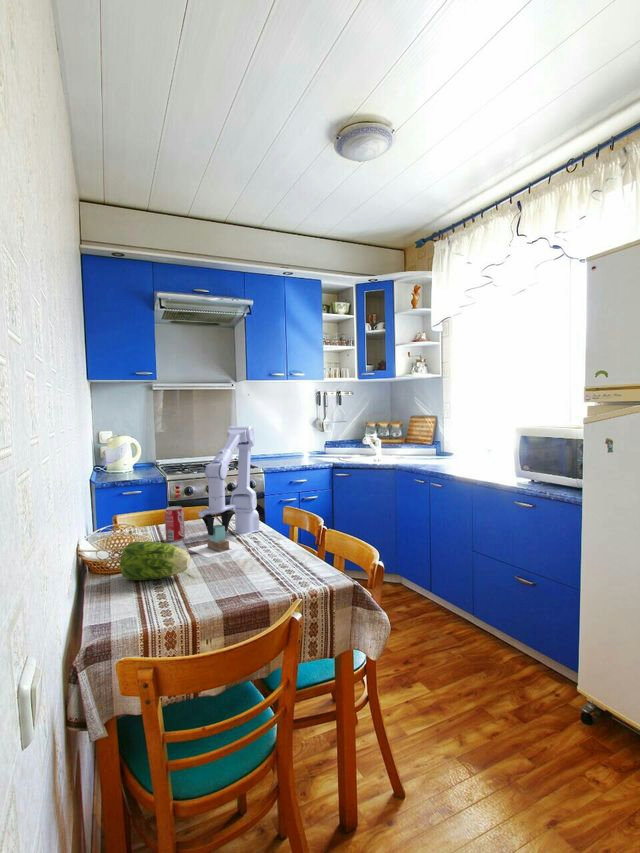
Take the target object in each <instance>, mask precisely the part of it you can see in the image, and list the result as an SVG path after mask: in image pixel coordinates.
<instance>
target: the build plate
mask: <svg viewBox="0 0 640 853" xmlns="http://www.w3.org/2000/svg"><path fill="white" fill-rule="evenodd" d="M225 540H227V541H229V549H228V550H225V551H221V552H219V551H216V550H213V549H211V548H208V543H205V544H202V545H198V546H193V547H189V548H188V550H189V551H191V552H194V553H197V554H199V555H200V556H203V557H205V558H210V557H214V556H217V555H222V554H225V553H228V552H232V551H236V550H239V549H243V548H246V546H245V545H243V544H239V543H237V542H234V541H231V540H228V539H226V538H225Z"/></svg>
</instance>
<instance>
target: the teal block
mask: <svg viewBox="0 0 640 853" xmlns="http://www.w3.org/2000/svg"><path fill="white" fill-rule="evenodd" d="M209 539H210V540H211V541H214V542H219V541H222V540H225V539H226V532H225V526H223V525H222V524H215V525H214V524H213V535H212V536H211V535H209Z"/></svg>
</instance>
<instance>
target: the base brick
mask: <svg viewBox="0 0 640 853" xmlns="http://www.w3.org/2000/svg"><path fill="white" fill-rule="evenodd" d="M227 540H228V539H226V540H222V541H219V542H214V541H211V540H210V538H208V539H207V544H208V548H211V549H213V550H216V551H219V552H221V551H225V550H228V549H229V541H230V540H229V541H227Z"/></svg>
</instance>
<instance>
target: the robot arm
mask: <svg viewBox="0 0 640 853" xmlns="http://www.w3.org/2000/svg"><path fill="white" fill-rule="evenodd" d="M255 437H256V435H255V430H254V428H253V426H251V425H249V426H232V425H230V426H229V427H228V428H227V430H226V441H225V443H224V445H223V448H220V449H219V450H218V451H217V453H216V455H215V457H214V458H213V460H212V462H211V463H208V464H206V466H205V470H204V475H205V478H206V483H207V484H208V508H205V509H202V510H199V511H197V514H198V515H197V517H199V518H201V519H202V521H203V523H204V524H205V527H206V530H207V534H208V536H210V535H211V536H212V535H213V526H214V521H215V516H213V515H218V514H220V518H221V525H223V526H225V533H227V532H228V530H229V525H230V522H231V520H232V518H233V516H234V518H235V519H234V521H235V522H234V524H235V526H234V527H235V528H234V529H235V530H231V532H232V533H235V534H239V535H241V536H243V535H247V534H254V533H258V532H261V529H260V515H259V511H257V509H256V508H257V507H258V506H257V504H258V500H257V493H256V491H255V490H254V489H253V488H251V485H250V484H251V482H250V480H251V454H252V453H251V452H252V447H254V446H255ZM236 448H237V449H238V460H237V461H238V462H237V463H238V464H237V465H238V466H237V487H236V488H235V489H234V490H232V492H231V497H230V500H229V501H230V502H229V504H227V505H226V491H225V490H226V489H225V485H226V484H225V483H226V482H225V479H226V478H227V476H228V470H229V465H230V463H231V461H232V459H233V453H234V450H235V449H236Z"/></svg>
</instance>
